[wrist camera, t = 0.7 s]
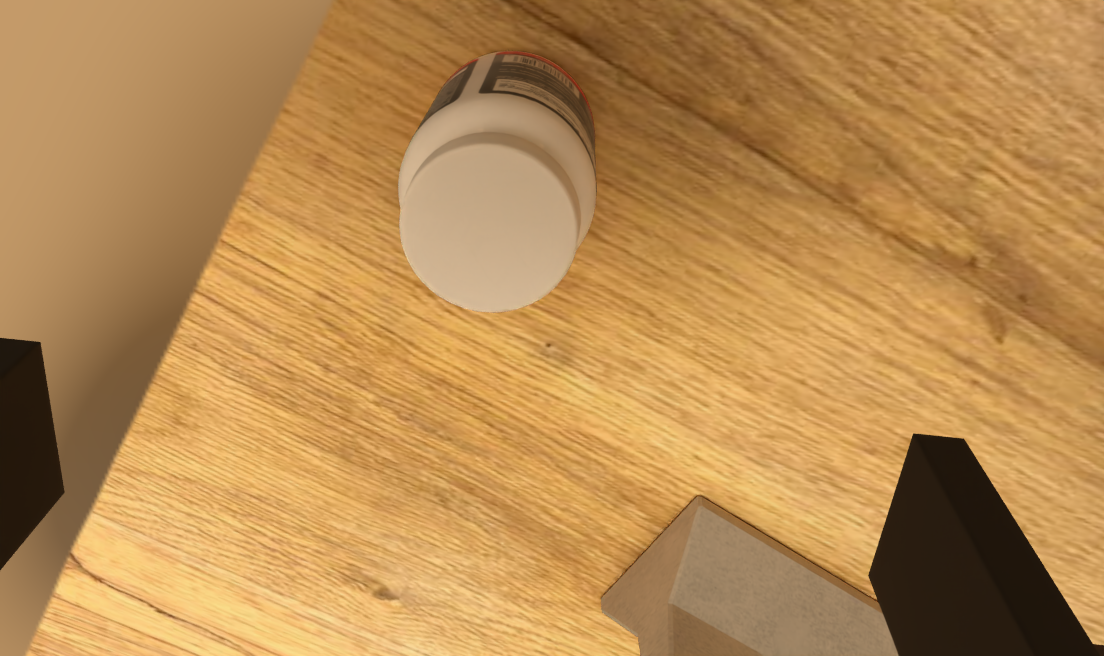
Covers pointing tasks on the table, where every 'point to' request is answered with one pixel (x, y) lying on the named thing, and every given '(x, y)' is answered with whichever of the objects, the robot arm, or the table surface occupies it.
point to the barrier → (739, 596)
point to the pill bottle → (499, 183)
